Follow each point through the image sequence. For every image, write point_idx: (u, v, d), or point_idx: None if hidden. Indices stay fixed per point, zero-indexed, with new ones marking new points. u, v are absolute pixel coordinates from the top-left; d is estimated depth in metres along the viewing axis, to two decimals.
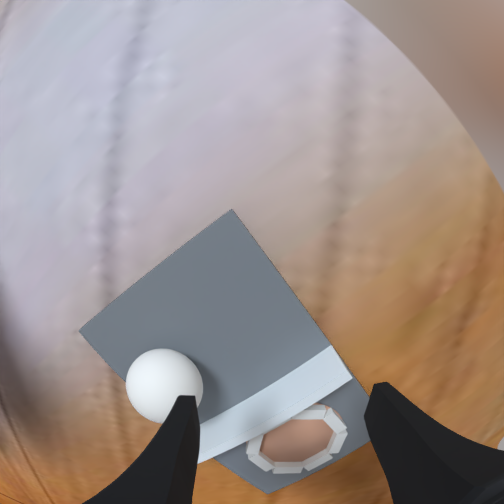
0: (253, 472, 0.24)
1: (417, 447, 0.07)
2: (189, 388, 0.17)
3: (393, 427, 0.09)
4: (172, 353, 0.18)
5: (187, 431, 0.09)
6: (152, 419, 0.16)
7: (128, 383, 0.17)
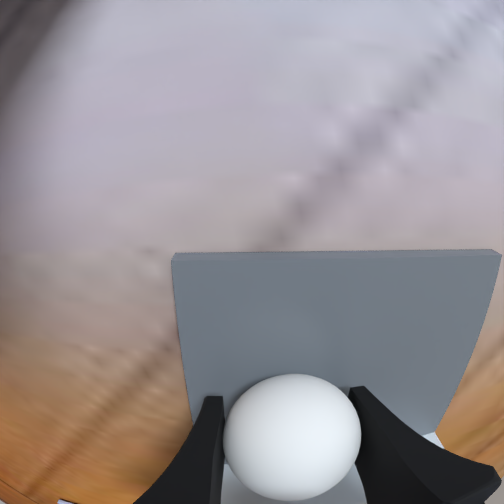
0: None
1: (389, 455, 0.07)
2: None
3: (367, 433, 0.09)
4: (350, 402, 0.10)
5: (219, 432, 0.09)
6: (265, 495, 0.08)
7: (269, 434, 0.08)
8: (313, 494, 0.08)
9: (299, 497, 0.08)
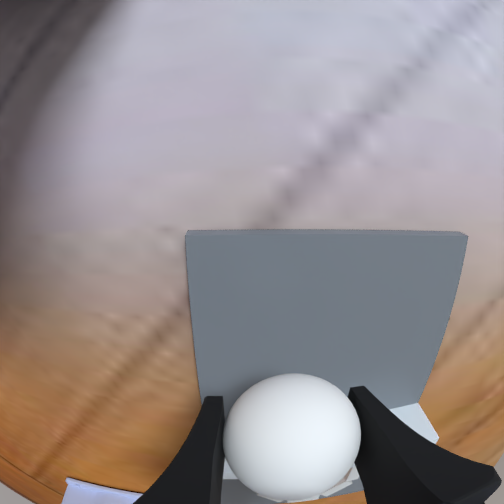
0: (233, 485, 0.19)
1: (389, 455, 0.07)
2: None
3: (367, 433, 0.09)
4: (350, 401, 0.10)
5: (219, 432, 0.09)
6: (265, 494, 0.08)
7: (269, 434, 0.08)
8: (313, 493, 0.08)
9: (299, 496, 0.08)
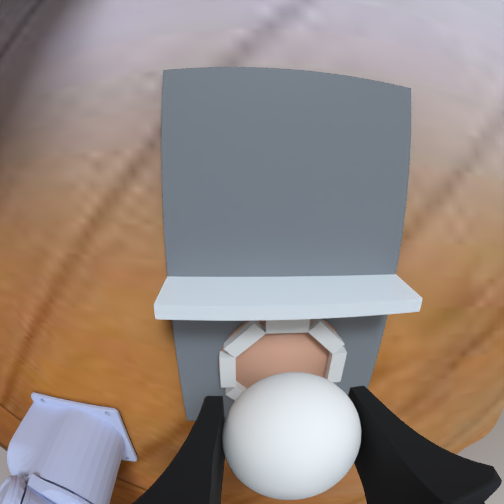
0: (199, 382, 0.20)
1: (389, 455, 0.07)
2: (353, 461, 0.09)
3: (367, 432, 0.09)
4: None
5: (219, 432, 0.09)
6: (265, 494, 0.08)
7: (268, 433, 0.08)
8: (313, 493, 0.08)
9: (299, 496, 0.08)
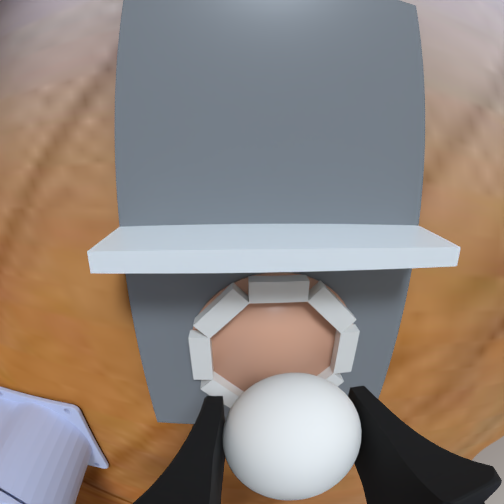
0: (168, 372, 0.16)
1: (389, 455, 0.07)
2: None
3: (367, 433, 0.09)
4: None
5: (219, 432, 0.09)
6: (266, 494, 0.08)
7: (268, 434, 0.08)
8: (314, 493, 0.08)
9: (300, 496, 0.08)
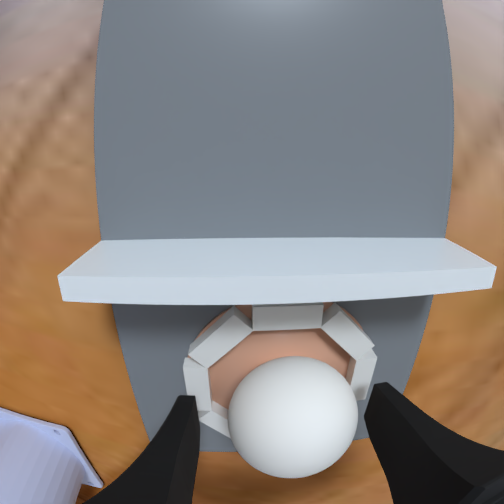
0: (162, 400, 0.14)
1: (417, 447, 0.07)
2: (352, 437, 0.10)
3: (393, 427, 0.09)
4: (344, 378, 0.11)
5: (187, 431, 0.09)
6: (274, 473, 0.09)
7: (274, 412, 0.09)
8: (319, 468, 0.09)
9: (307, 472, 0.09)
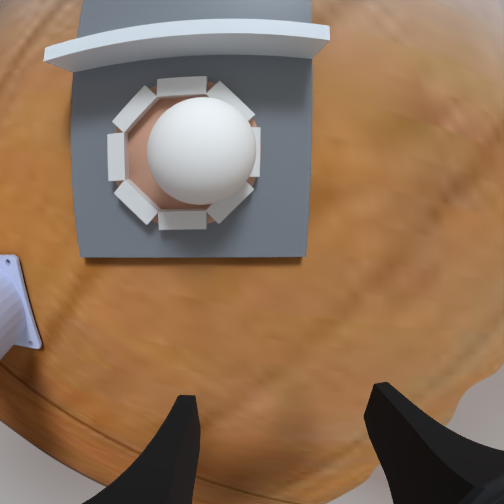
0: (91, 187, 0.16)
1: (417, 447, 0.07)
2: (255, 156, 0.14)
3: (393, 427, 0.09)
4: None
5: (187, 431, 0.09)
6: (198, 165, 0.12)
7: (191, 105, 0.12)
8: (236, 157, 0.12)
9: (227, 158, 0.12)
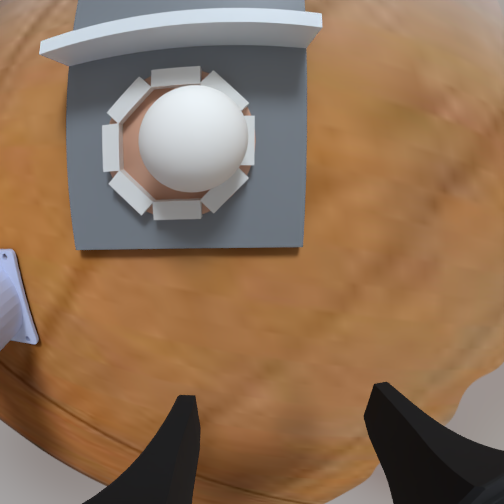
0: (87, 178, 0.16)
1: (417, 447, 0.07)
2: (247, 143, 0.14)
3: (393, 427, 0.09)
4: None
5: (187, 431, 0.09)
6: (186, 150, 0.11)
7: (180, 93, 0.11)
8: (225, 142, 0.12)
9: (215, 143, 0.12)
